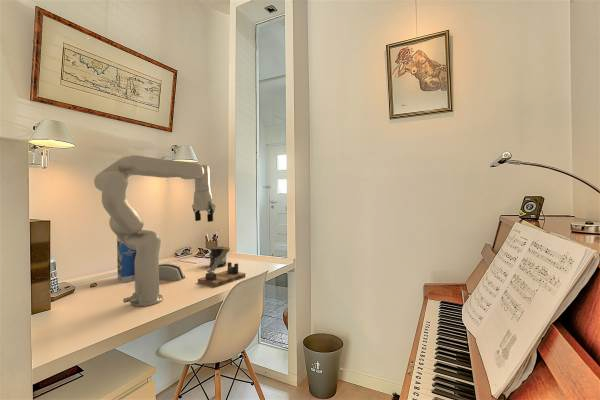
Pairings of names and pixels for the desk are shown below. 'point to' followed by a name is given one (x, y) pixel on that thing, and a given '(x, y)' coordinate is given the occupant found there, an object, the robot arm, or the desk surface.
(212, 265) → the strap
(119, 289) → the desk surface
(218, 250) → the supplement container
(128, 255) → the string lights box
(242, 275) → the strap board
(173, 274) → the grey curved block
